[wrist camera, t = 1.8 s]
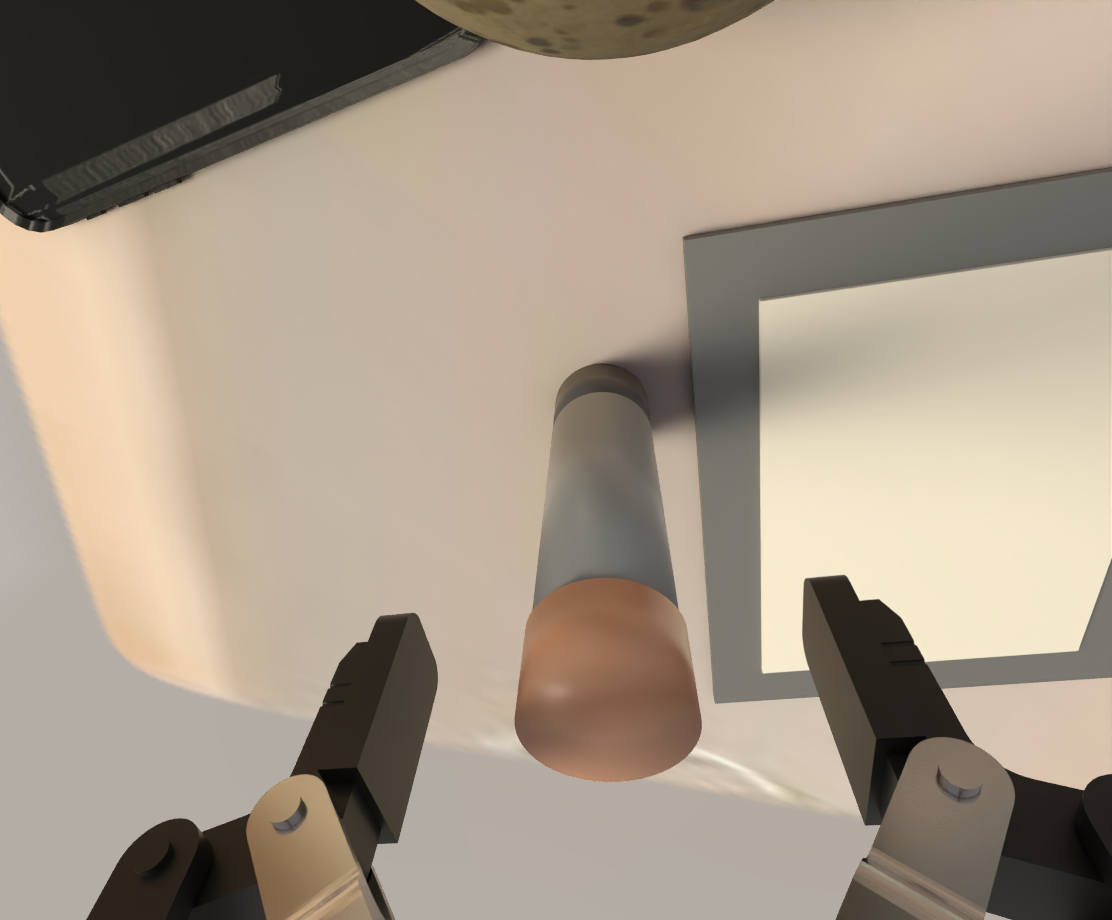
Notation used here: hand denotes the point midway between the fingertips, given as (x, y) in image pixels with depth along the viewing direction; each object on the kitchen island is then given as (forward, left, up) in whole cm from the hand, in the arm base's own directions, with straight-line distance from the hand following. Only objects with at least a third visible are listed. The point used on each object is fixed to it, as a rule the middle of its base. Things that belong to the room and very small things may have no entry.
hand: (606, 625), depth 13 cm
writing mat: (+5, +11, -9) cm, 15 cm away
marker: (0, 0, -9) cm, 9 cm away
